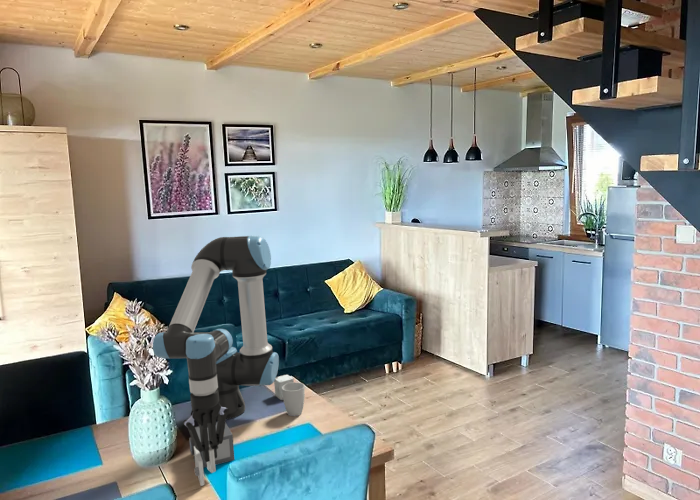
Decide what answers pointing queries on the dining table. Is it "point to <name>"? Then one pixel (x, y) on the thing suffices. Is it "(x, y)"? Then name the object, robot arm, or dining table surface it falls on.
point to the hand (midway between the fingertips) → (211, 470)
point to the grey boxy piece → (224, 449)
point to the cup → (293, 398)
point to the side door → (199, 466)
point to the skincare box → (281, 384)
